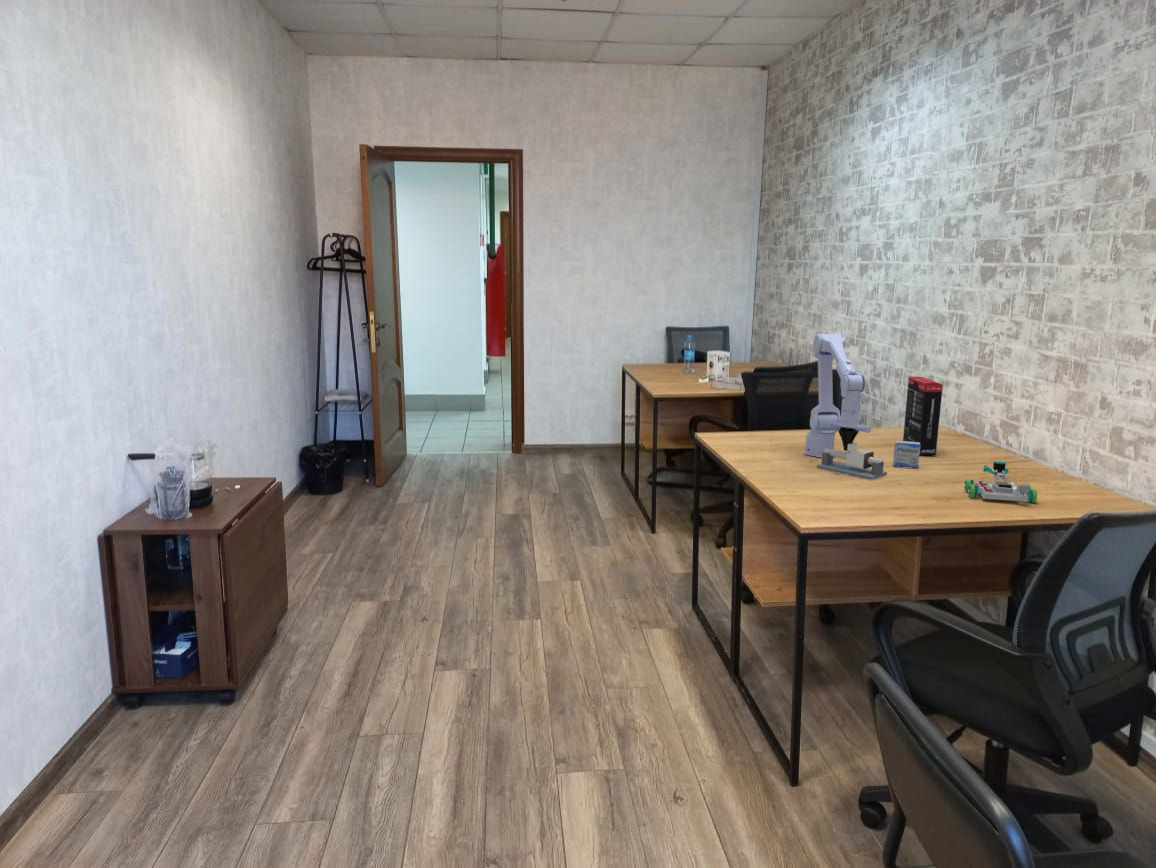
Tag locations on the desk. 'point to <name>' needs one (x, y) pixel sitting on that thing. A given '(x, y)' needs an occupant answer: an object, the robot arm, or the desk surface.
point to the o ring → (866, 459)
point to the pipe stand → (851, 470)
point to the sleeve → (855, 455)
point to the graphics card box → (923, 413)
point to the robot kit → (1000, 486)
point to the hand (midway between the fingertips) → (846, 450)
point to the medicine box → (906, 454)
